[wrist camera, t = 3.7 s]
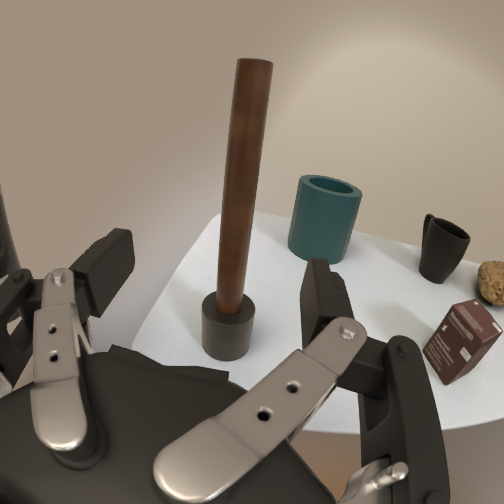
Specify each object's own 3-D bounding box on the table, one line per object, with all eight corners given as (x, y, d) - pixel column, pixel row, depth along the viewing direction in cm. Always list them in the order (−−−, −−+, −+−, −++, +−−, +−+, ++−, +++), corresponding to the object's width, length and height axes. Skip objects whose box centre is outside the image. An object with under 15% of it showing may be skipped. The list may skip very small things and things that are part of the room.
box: (420, 350, 27) (450, 303, 23) (448, 340, 28) (475, 297, 24) (445, 387, 21) (483, 342, 18) (471, 372, 23) (504, 329, 19)
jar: (281, 254, 42) (295, 184, 36) (293, 229, 50) (304, 171, 44) (342, 270, 40) (364, 202, 34) (344, 243, 48) (360, 185, 42)
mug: (429, 255, 49) (446, 214, 44) (456, 290, 38) (478, 243, 33) (399, 249, 49) (415, 205, 44) (423, 286, 38) (446, 235, 33)
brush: (194, 351, 25) (204, 54, 12) (213, 320, 28) (234, 65, 16) (239, 367, 24) (284, 57, 11) (254, 334, 27) (298, 70, 15)
